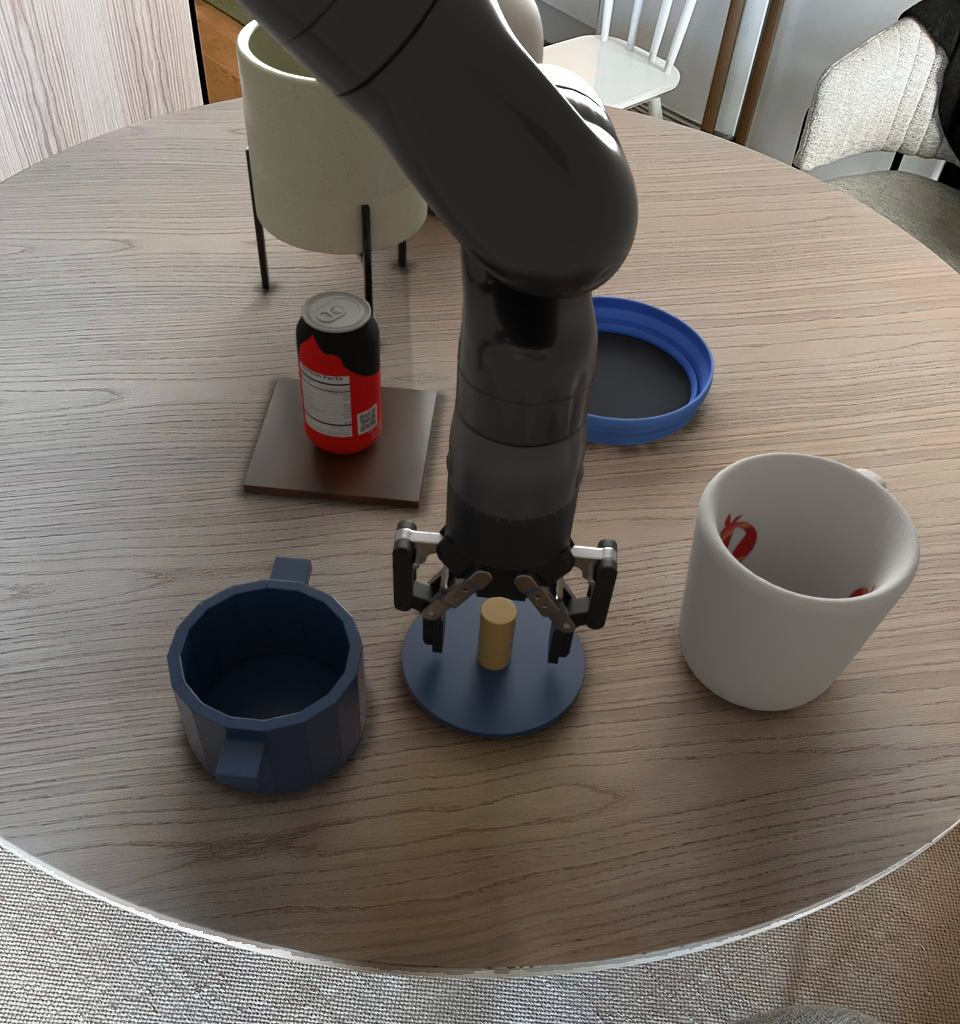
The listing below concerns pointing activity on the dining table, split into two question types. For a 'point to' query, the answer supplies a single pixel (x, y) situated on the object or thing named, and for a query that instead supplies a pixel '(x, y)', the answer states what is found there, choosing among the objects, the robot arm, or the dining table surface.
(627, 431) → the bowl
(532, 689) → the pot lid
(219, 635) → the pot
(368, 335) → the beverage can
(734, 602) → the cup
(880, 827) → the dining table surface
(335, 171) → the planter
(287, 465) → the trivet
